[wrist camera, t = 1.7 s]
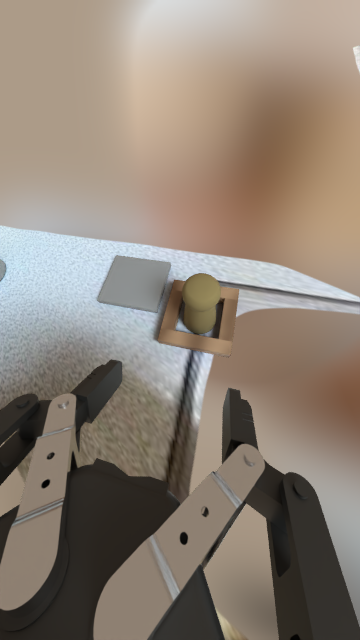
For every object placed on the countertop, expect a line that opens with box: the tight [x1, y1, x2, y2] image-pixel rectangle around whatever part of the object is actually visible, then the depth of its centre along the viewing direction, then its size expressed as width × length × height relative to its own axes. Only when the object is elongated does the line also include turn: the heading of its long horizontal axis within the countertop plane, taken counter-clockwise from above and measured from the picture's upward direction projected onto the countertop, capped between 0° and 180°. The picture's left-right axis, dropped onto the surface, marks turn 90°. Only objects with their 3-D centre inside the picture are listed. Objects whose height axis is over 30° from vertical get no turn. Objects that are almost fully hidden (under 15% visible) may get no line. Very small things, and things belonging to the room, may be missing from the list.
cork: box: [182, 273, 221, 334], centre depth 28 cm, size 6×6×11 cm
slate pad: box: [97, 255, 171, 313], centre depth 36 cm, size 12×11×1 cm
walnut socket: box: [158, 280, 239, 357], centre depth 32 cm, size 12×12×2 cm
